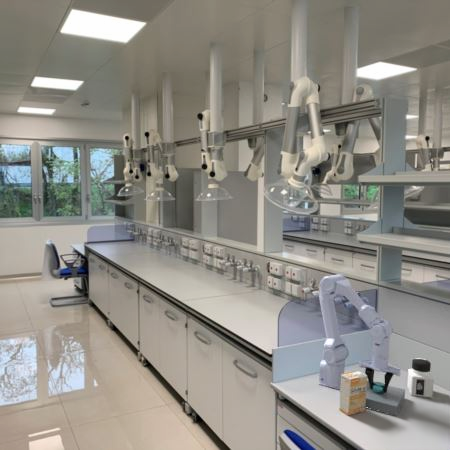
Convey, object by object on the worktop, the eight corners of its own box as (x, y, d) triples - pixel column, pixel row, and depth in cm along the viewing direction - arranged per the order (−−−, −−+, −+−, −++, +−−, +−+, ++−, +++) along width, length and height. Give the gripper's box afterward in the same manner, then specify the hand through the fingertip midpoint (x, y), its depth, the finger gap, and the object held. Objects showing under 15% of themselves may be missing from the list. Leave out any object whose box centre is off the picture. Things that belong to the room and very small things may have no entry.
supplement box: (348, 416, 152) (350, 379, 151) (338, 410, 156) (340, 374, 155) (366, 411, 156) (368, 375, 155) (356, 405, 160) (357, 370, 159)
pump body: (350, 403, 161) (350, 394, 161) (361, 387, 175) (362, 379, 174) (396, 416, 153) (397, 406, 152) (404, 398, 166) (405, 389, 166)
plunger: (370, 401, 163) (371, 384, 162) (373, 397, 167) (374, 380, 166) (382, 404, 161) (383, 388, 160) (385, 400, 164) (386, 383, 164)
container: (432, 398, 167) (434, 364, 166) (411, 395, 169) (413, 362, 168) (427, 389, 175) (429, 357, 174) (407, 387, 176) (408, 355, 176)
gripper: (357, 353, 163) (355, 389, 164) (399, 362, 155) (397, 399, 156) (362, 347, 169) (360, 382, 170) (402, 356, 161) (400, 392, 162)
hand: (378, 390), depth 163 cm, fingers closed on plunger, 4 cm apart
